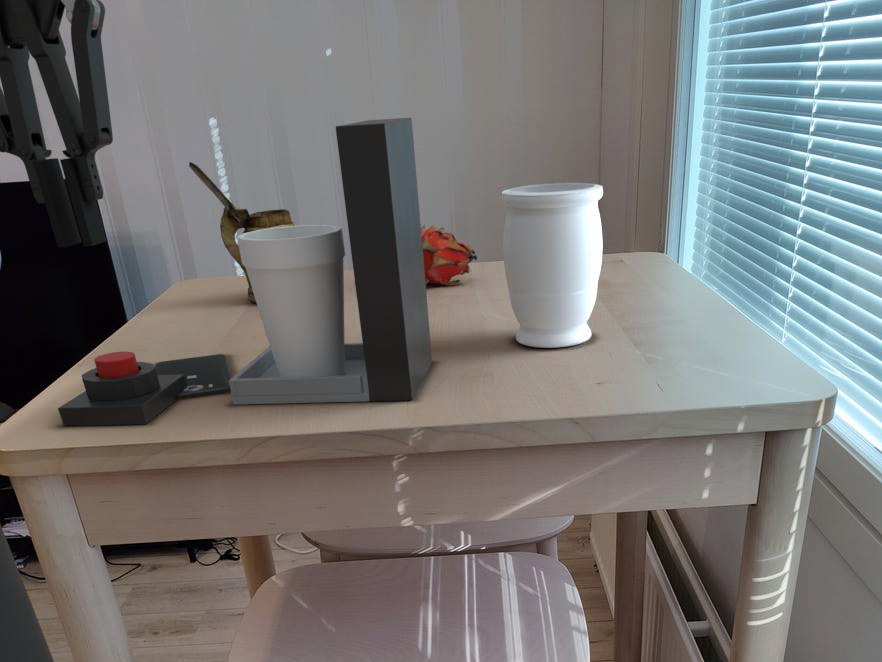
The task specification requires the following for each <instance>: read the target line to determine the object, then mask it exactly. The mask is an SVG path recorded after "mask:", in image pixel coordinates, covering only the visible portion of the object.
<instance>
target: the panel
mask: <svg viewBox="0 0 882 662" xmlns="http://www.w3.org/2000/svg"><path fill="white" fill-rule="evenodd" d="M137 365H138V369H139V371H138V372H137V373H133V374H130V375H126V376H120V377H113V378H101V377H99V375H98V372H97V368H96V367H95V368H91V369H88V371H86V372H84V373H83V374H81V379H82V384H83V386H84V390H85V391H83V392H81V393H80V394H77V396H75V397H73V398H72V399H70V400H68V401H67V402H66V403H64V404H62V405H60V406H59V407H57V410H58V413H59V416H60V420H61V422H62V425H63V427H79V426H80V427H83V426H87V427H88V426H123V425H124V426H125V425H126V426H128V425H133V426H134V425H147V424H148V423H149V422H151V421H152V420H153V419H155V418H156V417H157V416H159V415H160V414H161V413H162V412H164V411H165V410H166V409H167V408H169V407H170V406H171V405H173V404H174V403H175V402H177V401H179V400H178V395H179V394H180V393H181V392H183V391H184V390H185V389H186V388H187V384H186V380H185V376H184V374H181V375H157V373H156V369H155V365H154V363H151V362H145V361H137Z"/></svg>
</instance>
